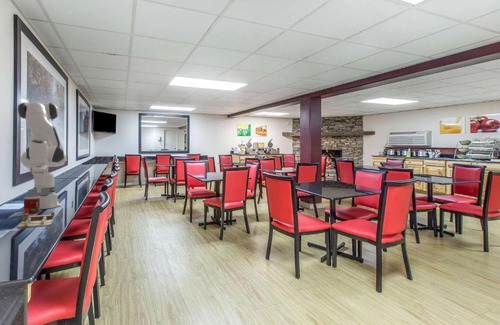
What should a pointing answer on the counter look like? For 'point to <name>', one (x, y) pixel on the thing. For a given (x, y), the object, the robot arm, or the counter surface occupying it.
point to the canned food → (32, 205)
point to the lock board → (36, 220)
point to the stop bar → (43, 192)
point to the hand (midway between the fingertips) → (38, 192)
